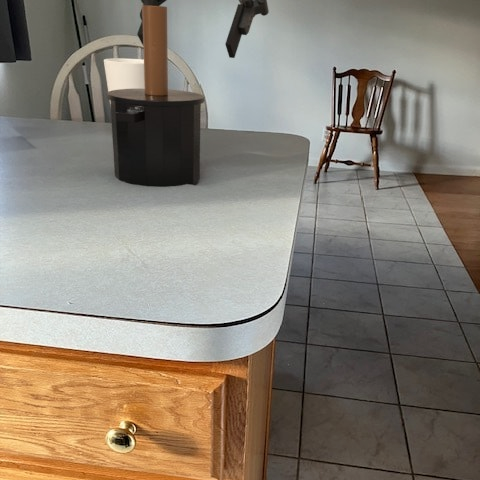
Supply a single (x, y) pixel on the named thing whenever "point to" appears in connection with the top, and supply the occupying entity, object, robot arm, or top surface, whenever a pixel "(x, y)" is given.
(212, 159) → the top surface
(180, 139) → the pot
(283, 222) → the top surface
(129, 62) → the cup
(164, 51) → the lid
